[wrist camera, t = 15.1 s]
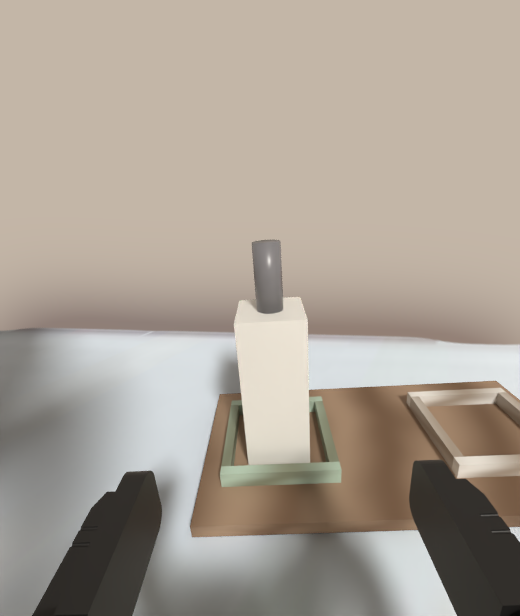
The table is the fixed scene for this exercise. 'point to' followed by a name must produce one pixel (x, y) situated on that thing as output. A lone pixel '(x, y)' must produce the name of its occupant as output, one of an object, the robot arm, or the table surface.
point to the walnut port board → (362, 460)
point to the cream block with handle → (273, 365)
